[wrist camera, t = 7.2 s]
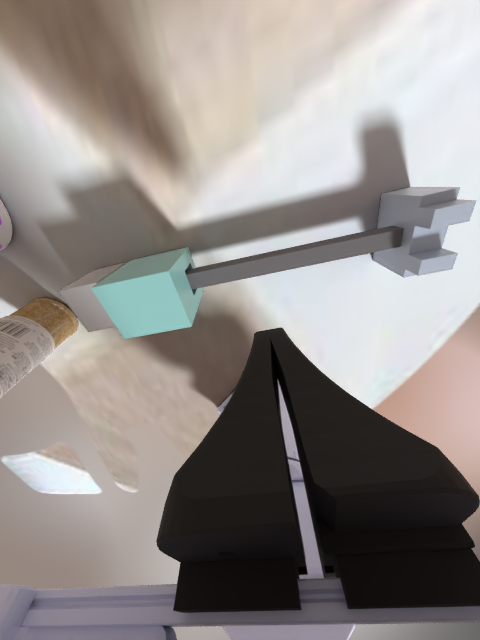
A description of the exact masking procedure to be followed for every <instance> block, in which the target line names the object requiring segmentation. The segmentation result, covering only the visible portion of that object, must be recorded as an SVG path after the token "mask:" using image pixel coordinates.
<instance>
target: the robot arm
mask: <svg viewBox="0 0 480 640" xmlns="http://www.w3.org/2000/svg"><path fill="white" fill-rule="evenodd" d="M218 412H219V413H221V415H220V416H219V418H218V419H217V421H216V422H215V424H214V425H213V426H212V428H211V429H210V431H209V432H208V434H207V435H206V436H205V438H204V439H203V441H202V442H201V443H200V444H199V446H198V447H197V448H196V449H195V451H194V452H193V453H192V454H191V456H190V457H189V458H188V459H187V460H186V462H185V463H184V464H183V465H182V467H181V468H180V469H179V470H178V471H177V473H176V474H175V476H174V479H173V481H172V485H171V487H170V490H169V493H168V496H167V500H166V503H165V507H164V511H163V515H162V520H161V524H160V528H159V533H158V537H157V546H158V547H159V550H160V551H162V552H163V553H165V554H167V555H168V556H170V557H172V558H174V559H176V560H177V561H179V562H181V563H180V569H179V576H178V583H177V584H166V585H140V586H114V587H91V588H90V587H89V588H63V589H39V590H37V589H36V587H31V586H26V585H16V584H5V585H0V640H177V639H176V634H175V632H174V629H173V628H172V627H189V626H222V627H223V629H224V630H225V631H226V633H227V634H228V636H229V637H230V638H231V640H348V639H349V637H350V636H351V634H352V632H353V630H354V628H355V626H356V624H404V623H405V624H406V623H407V624H408V623H476V622H477V623H480V561H479V560H478V558H477V557H476V555H475V554H474V552H473V551H472V549H471V548H473V547H475V545H474V542H473V540H472V539H471V537H470V536H469V534H468V533H467V531H466V530H465V528H464V527H463V525H462V523H463V521H465V520H466V519H467V518H468V517H469V516H471V515H472V514H473V513H474V512H475V511H476V509H477V508H478V507H479V503H480V500H479V496H478V495H477V493H476V492H475V491H474V489H473V488H472V487H471V486H470V484H469V483H468V482H467V480H466V479H465V478H464V477H463V475H462V474H461V473H460V472H459V471H458V470H457V468H456V467H455V466H454V465H453V464H452V463H451V462H450V461H449V460H448V458H447V457H446V456H445V455H444V454H443V453H442V452H441V451H440V450H439V449H438V448H437V447H436V446H434V445H432V444H430V443H428V442H427V441H424V440H423V439H421V438H419V437H417V436H416V435H414V434H412V433H410V432H408V431H407V430H405V429H403V428H401V427H400V426H398V425H396V424H394V423H393V422H391V421H390V420H388V419H386V418H385V417H383V416H382V415H380V414H378V413H377V412H375V411H374V410H372V409H371V408H369V407H368V406H366V405H365V404H363V403H362V402H360V401H359V400H357V399H356V398H354V397H353V396H351V395H350V394H349V393H347V392H346V391H345V390H343V389H342V388H341V387H339V386H338V385H337V384H335V383H334V382H333V381H332V380H331V379H329V378H328V377H327V376H326V375H325V374H323V373H322V372H321V371H320V370H319V369H318V368H317V367H316V366H315V365H314V364H313V363H311V362H310V361H309V360H308V359H307V358H306V357H305V355H304V354H303V353H302V352H301V351H300V350H299V349H298V348H297V347H296V346H295V344H294V343H293V342H292V341H291V339H290V338H289V337H288V335H287V334H286V332H285V331H284V329H283V328H276V329H270V330H265V331H259V332H256V333H255V334H254V340H253V345H252V348H251V352H250V355H249V358H248V361H247V364H246V366H245V369H244V371H243V373H242V376H241V378H240V380H239V383H238V385H237V387H236V389H235V391H234V392H233V393H232V394H231V395H230V396H229V397H228V398H227V399H226V400H225V401H224V402H223V403H222V404H221V405H220V406H219V407H218Z"/></svg>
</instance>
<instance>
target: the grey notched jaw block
mask: <svg viewBox="0 0 480 640" xmlns="http://www.w3.org/2000/svg"><path fill="white" fill-rule="evenodd" d="M459 189H460V187H408V188H404V189H400V190H395V191H391V192H387V193H383V194H381V201H380V209H379V216H378V224H377V229H379V228H383V227H388V226H397V227H401V228H404V232H403V237H402V242H401V247H397V248H392V249H388V250H383V251H378V252H374V254H373V261H375V262H377V263H379V264H380V265H382V266H384V267H386V268H388V269H389V270H391V271H393V272H395V273H396V274H398V275H400V276H402V277H408V276H413V275H418V276H419V275H424V274H429V273H435V272H440V271H445V270H451V269H453V266H454V263H455V260H456V257H457V254H458V253H455V252H452V251H449V250H445V249H442V245H443V242H444V238H445V235H446V232H447V229H448V225H453V224H458V223H463V222H467V221H469V220H470V217H471V215H472V212H473V209H474V206H475V203H476V201H472V200H457V196H458V193H459Z"/></svg>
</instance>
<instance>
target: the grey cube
mask: <svg viewBox="0 0 480 640" xmlns="http://www.w3.org/2000/svg"><path fill="white" fill-rule="evenodd" d="M125 264H126V262H125V263H121V264H117V265H112V266H108V267H103V268H99V269H95V270H93V271H91V272H90V273H88V274H86V275H85V276H83V277H81V278H79V279H78V280H76V281H74V282H73V283H71V284H69V285H67V286H66V287H64V288H62V289H61V290H59V291H58V293H59V294H60V295H61V296H62V298H63V299H64V300H65V302H66V303H67V304H68V306H69V307H70V308H71V310H72V311H73V312H74V314H75V315H76V316H77V318H78V319H79V320H80V322H81V323H82V324H83V325H84V327H85V328H86V329H87V331H88V332H91V331H96V330H101V329H106V328H112V327H116V326H115V324H114V323H113V321H112V320H111V318H110V317H109V315H108V314H107V312H106V311H105V309H104V308H103V306H102V305H101V303H100V302H99V300H98V298H97V297H96V295H95V294H94V292H93V291H92V289H91V287H93V286H94V285H96V284H97V283H99V282H100V281H102V280H103V279H104V278H106V277H107V276H109V275H110V274H112V273H113V272H115V271H116V270H117V269H119V268H120V267H122V266H123V265H125Z"/></svg>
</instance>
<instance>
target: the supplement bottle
mask: <svg viewBox="0 0 480 640" xmlns="http://www.w3.org/2000/svg"><path fill="white" fill-rule="evenodd" d="M11 238H12V223H11V219H10V216H9V214H8V211H7V209H6V207H5V206H4V204H3V203H2V201H1V199H0V251H1V250H3V249H4V248H6V247H7V245H8V244H9V243H10V241H11Z"/></svg>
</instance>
